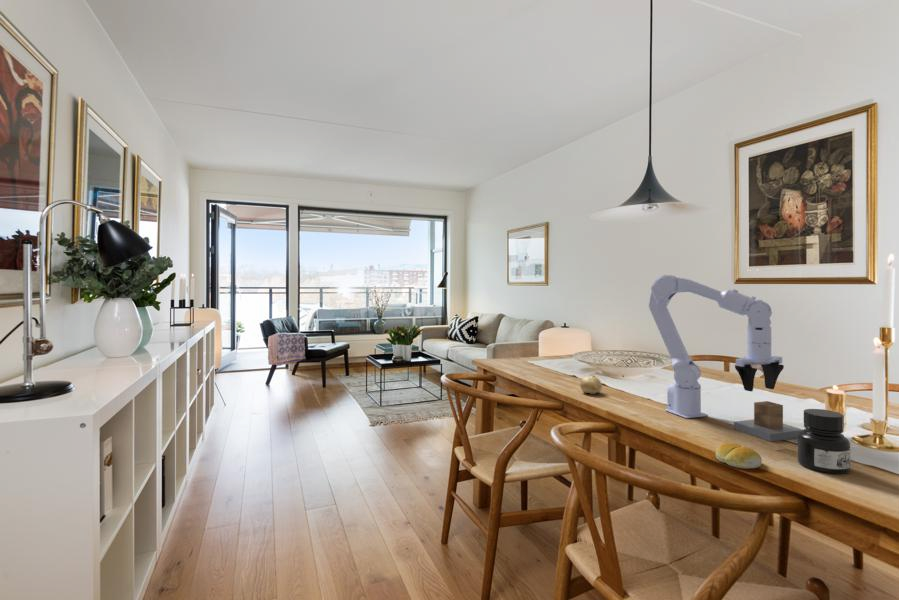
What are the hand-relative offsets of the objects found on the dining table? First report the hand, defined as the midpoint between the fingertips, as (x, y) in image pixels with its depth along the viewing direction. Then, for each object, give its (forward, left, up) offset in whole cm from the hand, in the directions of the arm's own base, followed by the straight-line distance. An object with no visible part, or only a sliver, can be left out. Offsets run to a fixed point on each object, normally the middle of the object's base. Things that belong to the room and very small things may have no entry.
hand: (759, 389), depth 130 cm
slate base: (+7, -5, -10) cm, 13 cm away
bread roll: (+20, -29, -10) cm, 37 cm away
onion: (-48, -25, -10) cm, 55 cm away
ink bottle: (+28, -14, -10) cm, 33 cm away
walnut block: (+7, -5, -8) cm, 12 cm away
